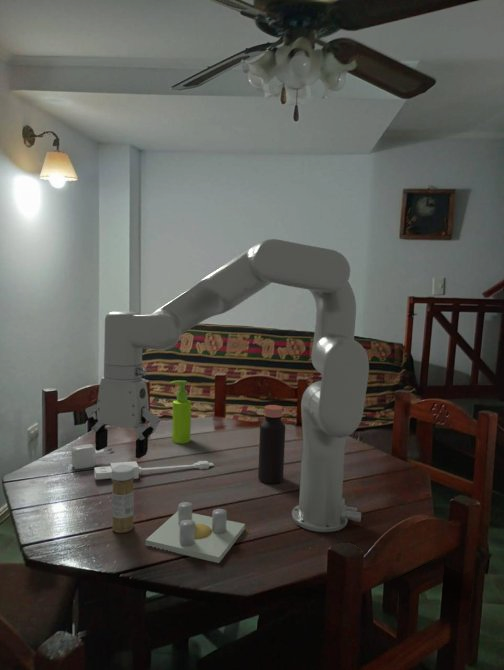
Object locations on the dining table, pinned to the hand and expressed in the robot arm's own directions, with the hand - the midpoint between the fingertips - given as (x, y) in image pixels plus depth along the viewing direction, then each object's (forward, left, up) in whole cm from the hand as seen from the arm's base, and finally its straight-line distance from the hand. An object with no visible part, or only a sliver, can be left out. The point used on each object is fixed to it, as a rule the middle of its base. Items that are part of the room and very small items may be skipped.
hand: (121, 452), depth 105 cm
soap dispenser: (+16, -56, -17) cm, 61 cm away
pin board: (-16, -3, -17) cm, 24 cm away
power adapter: (+28, -27, -17) cm, 42 cm away
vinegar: (-21, -38, -17) cm, 47 cm away
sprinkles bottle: (0, 0, -17) cm, 17 cm away
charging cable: (+9, -29, -17) cm, 35 cm away
